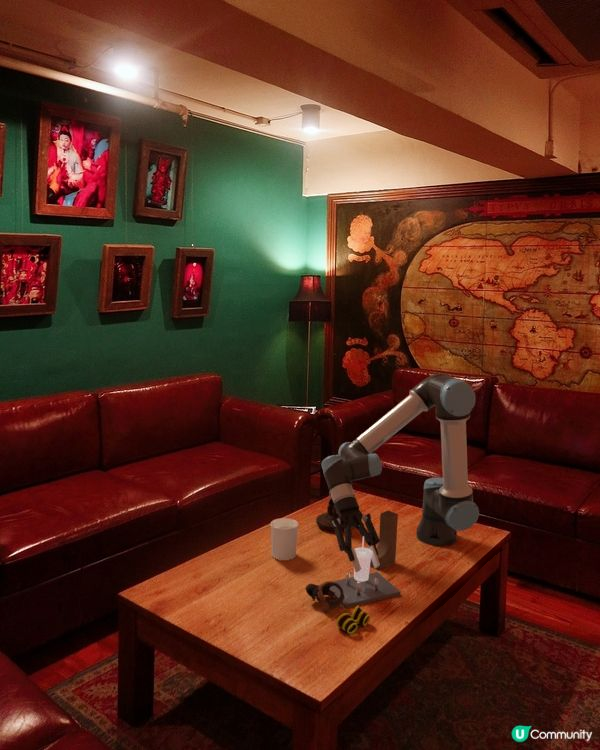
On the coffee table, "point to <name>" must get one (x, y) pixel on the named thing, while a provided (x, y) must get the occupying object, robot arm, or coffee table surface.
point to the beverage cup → (363, 563)
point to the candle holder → (284, 538)
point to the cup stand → (364, 590)
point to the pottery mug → (323, 590)
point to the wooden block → (387, 539)
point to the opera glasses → (353, 620)
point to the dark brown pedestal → (328, 517)
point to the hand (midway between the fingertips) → (368, 568)
